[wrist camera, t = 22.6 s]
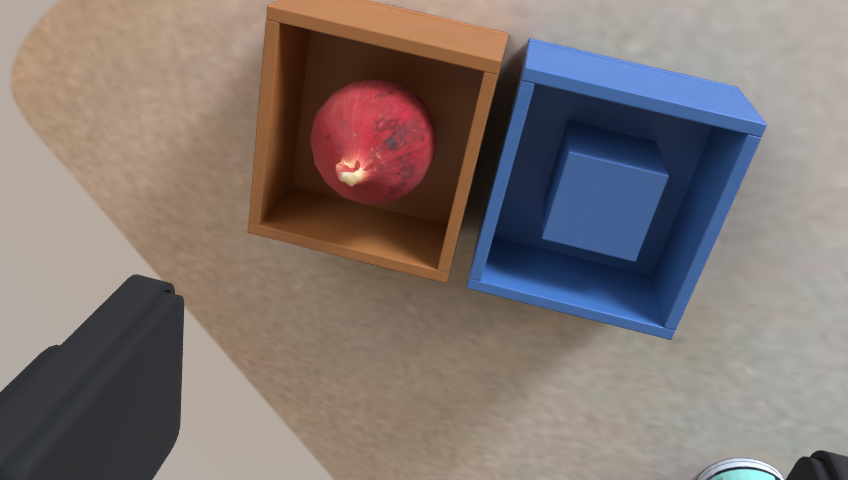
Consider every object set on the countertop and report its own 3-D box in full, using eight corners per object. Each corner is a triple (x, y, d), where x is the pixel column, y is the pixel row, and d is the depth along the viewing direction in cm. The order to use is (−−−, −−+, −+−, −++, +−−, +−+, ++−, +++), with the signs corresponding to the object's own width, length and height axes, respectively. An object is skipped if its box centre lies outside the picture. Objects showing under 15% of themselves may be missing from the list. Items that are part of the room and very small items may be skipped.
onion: (413, 42, 36) (378, 86, 29) (464, 144, 38) (443, 209, 31) (315, 91, 38) (259, 143, 31) (368, 185, 40) (328, 255, 33)
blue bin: (529, 37, 35) (524, 66, 31) (738, 87, 35) (768, 124, 30) (477, 236, 41) (466, 288, 36) (657, 282, 40) (671, 340, 35)
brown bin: (306, -15, 36) (267, 5, 31) (509, 33, 35) (501, 61, 31) (284, 188, 41) (247, 232, 36) (459, 232, 41) (446, 283, 36)
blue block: (567, 119, 36) (568, 151, 32) (657, 141, 36) (668, 176, 32) (543, 200, 38) (541, 239, 35) (627, 220, 38) (635, 262, 34)
